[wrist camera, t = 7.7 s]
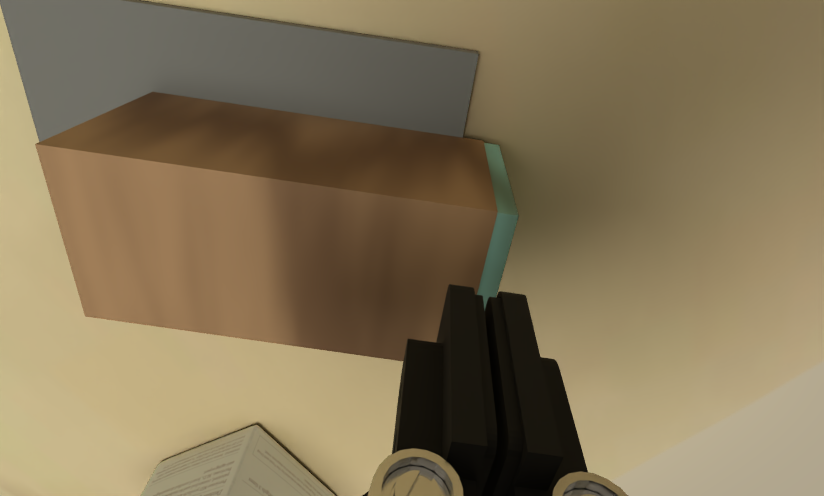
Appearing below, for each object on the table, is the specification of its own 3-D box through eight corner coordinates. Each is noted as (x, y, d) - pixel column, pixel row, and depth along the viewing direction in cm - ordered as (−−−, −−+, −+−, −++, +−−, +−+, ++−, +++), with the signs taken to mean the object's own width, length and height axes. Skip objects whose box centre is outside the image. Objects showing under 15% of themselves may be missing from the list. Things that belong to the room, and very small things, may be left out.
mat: (477, 51, 14) (478, 53, 14) (428, 311, 19) (427, 319, 19) (7, -20, 14) (-7, -19, 14) (84, 262, 19) (75, 269, 19)
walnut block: (519, 214, 11) (35, 143, 11) (475, 371, 13) (85, 316, 13) (499, 143, 15) (152, 91, 15) (468, 272, 18) (173, 229, 18)
